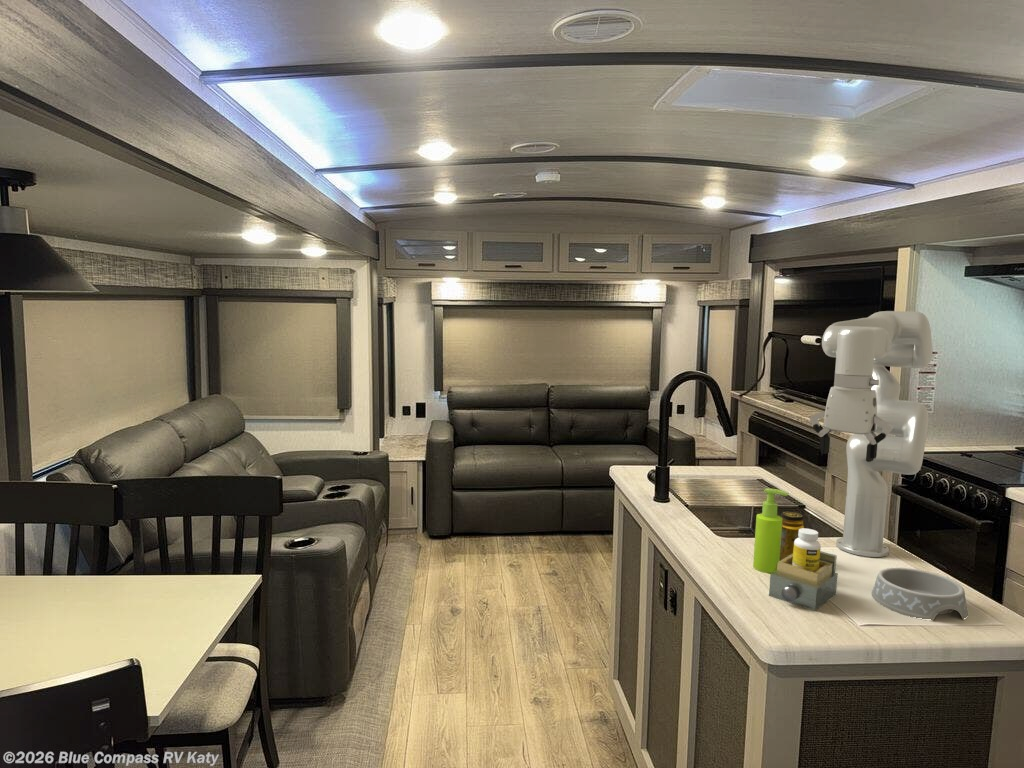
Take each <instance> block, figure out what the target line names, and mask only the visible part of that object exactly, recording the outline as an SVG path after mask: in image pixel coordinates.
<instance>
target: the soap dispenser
mask: <svg viewBox="0 0 1024 768" xmlns="http://www.w3.org/2000/svg"><path fill="white" fill-rule="evenodd" d="M763 492H764V493H766V500H764V501H762V509H761V510H762V512H761V513H757V514H756V517H755V518H756V519H755V531H754V533H755V534H754V535H755V536H754V549H753V562H752V563H753V564H752V567H753V569H755V570H756V571H757V572H758V571H759V572H762V573H766V574H767V573H768V574H771V573H773V572H775V571H776V570H777V564H778V562H779V558H780V544H781V530H782V518H781V515H779V514H778V503H777V502H776V501H775V495H776V494H777V495H781V496H783V497H788V495H789V494H790V493H789V492H787V491H784V490H782V489H776V488H768V487H767V488H765V489H764V490H763Z"/></svg>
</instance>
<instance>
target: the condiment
mask: <svg viewBox="0 0 1024 768" xmlns="http://www.w3.org/2000/svg"><path fill="white" fill-rule="evenodd" d="M780 517H781V518H782V530H781V544H780V558H779V561H781V560H782V559H784V558H786V557H787V556H789V555H791V554H792V553H793V550H794V541H795V539H797V538H799V536H798V533H799V529H802V528H805V526H804V516H803V515H802V514H800V513H799V512H795V511H783V512H781V513H780Z"/></svg>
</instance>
